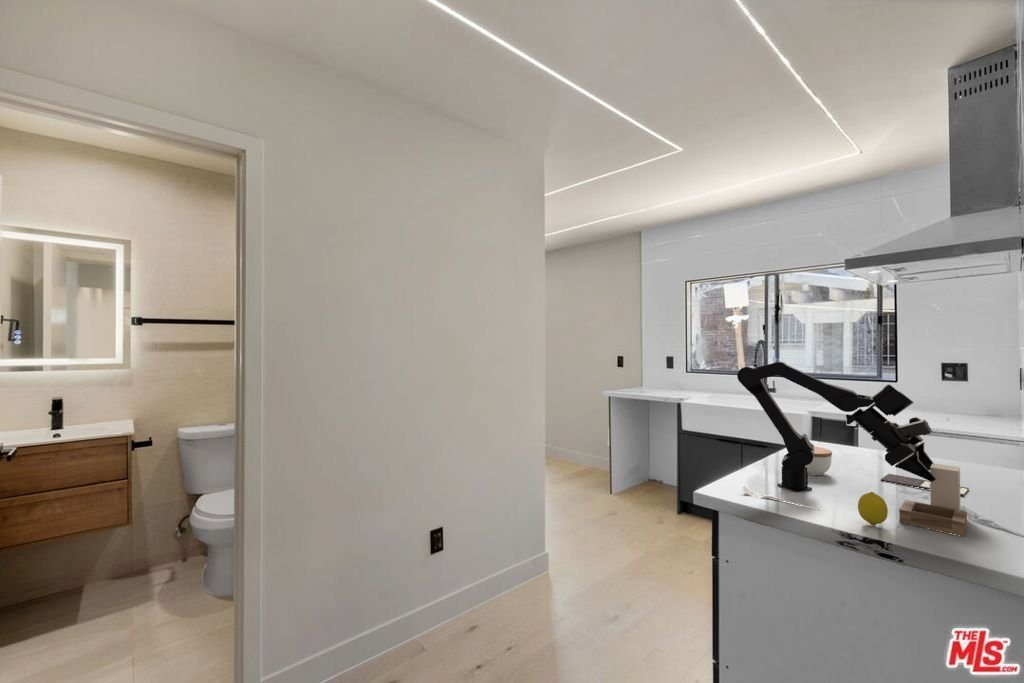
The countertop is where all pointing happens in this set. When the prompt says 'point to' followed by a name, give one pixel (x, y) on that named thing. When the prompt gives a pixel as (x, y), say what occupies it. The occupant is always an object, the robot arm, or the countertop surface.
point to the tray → (933, 517)
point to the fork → (772, 497)
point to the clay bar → (945, 486)
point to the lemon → (872, 508)
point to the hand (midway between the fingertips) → (936, 476)
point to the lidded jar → (820, 461)
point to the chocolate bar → (914, 482)
